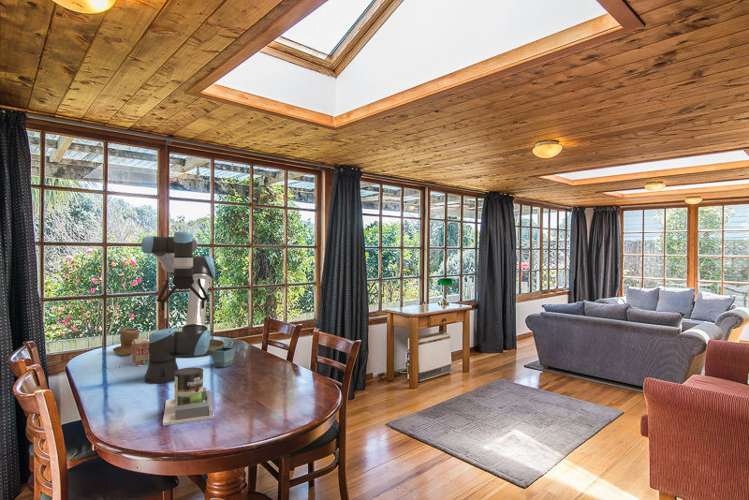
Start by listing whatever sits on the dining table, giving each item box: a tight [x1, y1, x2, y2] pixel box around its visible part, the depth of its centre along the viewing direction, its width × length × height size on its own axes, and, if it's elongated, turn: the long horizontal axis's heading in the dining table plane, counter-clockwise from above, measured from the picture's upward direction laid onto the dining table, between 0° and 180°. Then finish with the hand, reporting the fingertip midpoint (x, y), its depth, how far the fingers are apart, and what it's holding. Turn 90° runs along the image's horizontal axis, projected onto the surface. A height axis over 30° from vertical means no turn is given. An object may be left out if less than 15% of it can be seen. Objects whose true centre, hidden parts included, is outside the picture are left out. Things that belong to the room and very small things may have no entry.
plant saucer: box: [178, 338, 226, 358], centre depth 259 cm, size 31×31×5 cm
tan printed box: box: [131, 337, 149, 367], centre depth 237 cm, size 21×6×12 cm, turn 34°
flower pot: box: [211, 346, 236, 368], centre depth 228 cm, size 9×9×9 cm
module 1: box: [175, 402, 208, 420], centre depth 159 cm, size 11×5×4 cm, turn 113°
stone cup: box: [112, 327, 140, 356], centre depth 253 cm, size 15×12×15 cm
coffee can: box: [174, 366, 204, 409], centre depth 167 cm, size 10×10×14 cm
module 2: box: [203, 387, 207, 400], centre depth 175 cm, size 11×5×4 cm, turn 113°
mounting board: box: [162, 396, 215, 427], centre depth 167 cm, size 17×25×1 cm
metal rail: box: [206, 389, 214, 416], centre depth 170 cm, size 2×24×2 cm, turn 23°
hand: (183, 317), depth 185 cm, fingers open, 13 cm apart
